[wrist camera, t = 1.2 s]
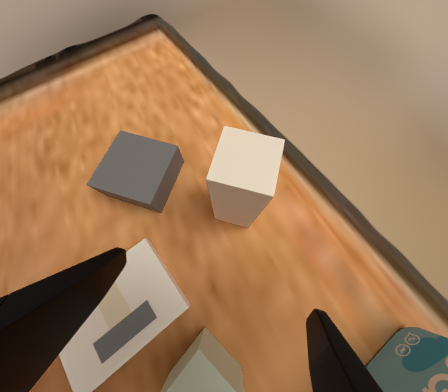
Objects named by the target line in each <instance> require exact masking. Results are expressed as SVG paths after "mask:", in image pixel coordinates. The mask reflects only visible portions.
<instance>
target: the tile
mask: <svg viewBox="0 0 448 392" xmlns="http://www.w3.org/2000/svg"><path fill="white" fill-rule="evenodd" d="M126 258H127V262H126V265H125V267H124V269H123V270H122V272H121V273H120V275H119V276H118V278H117V279H116V281H115V282H114V284H113V285H112V287H111V288H110V290H109V291H108V293H107V294H106V296H105V297H104V298H103V300H102V301H101V302H100V304H99V305H98V306H97V307H96V309H95V310H94V311H93V312H92V314H91V315H90V316H89V317H88V319H87V320H86V321H85V322H84V324H83V325H82V326H81V327H80V329H79V330H78V331H77V332H76V334H75V335H74V336H73V337H72V339H71V340H70V341H69V342H68V344H67V345H66V346H65V347H64V349H63V350H62V351H61V352H60V354H59V357H60V360H61V362H62V365H63V367H64V370H65V373H66V375H67V378H68V380H69V383H70V386H71V388H72V391H73V392H92V391H94V390H95V389H96V388H97V387H98V386H99V385H100V384H102V383H103V382H104V381H105V380H106V379H107V378H108V377H110V376H111V375H112V374H113V373H114V372H115V371H117V370H118V369H119V368H120V367H121V366H122V365H123V364H125V363H126V362H127V361H128V360H129V359H130V358H131V357H133V356H134V355H135V354H136V353H137V352H138V351H140V350H141V349H142V348H143V347H144V346H145V345H146V344H148V343H149V342H150V341H151V340H152V339H153V338H154V337H156V336H157V335H158V334H159V333H160V332H161V331H163V330H164V329H165V328H166V327H167V326H168V325H169V324H171V323H172V322H173V321H174V320H175V319H176V318H177V317H179V316H180V315H181V314H182V313H183V312H184V311H186V310H187V309H188V308H189V307H190V303H189V301H188V300H187V298H186V297H185V295H184V294H183V292H182V290H181V289H180V287H179V286H178V284H177V283H176V281H175V279H174V278H173V276H172V275H171V273H170V272H169V270H168V268H167V267H166V265H165V264H164V262H163V260H162V259H161V257H160V256H159V254H158V253H157V251H156V249H155V248H154V246H153V245H152V243H151V242H150V240H149V239H146V238H145V239H143V240H142V241H140V242H139V243H138V244H136V245H135V246H134V247H132V248H131V249H129V250H128V251H127V252H126Z"/></svg>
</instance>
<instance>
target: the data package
mask: <svg viewBox="0 0 448 392" xmlns="http://www.w3.org/2000/svg"><path fill="white" fill-rule="evenodd" d="M366 368H367V370H368V371H369V373H370V374H371V375H372V377H373V378H374V379H375V381H376V382H377V384H378V385H379V386H380V388H381V389H382V390H383V392H448V338H446V337H443V336H440V335H437V334H434V333H432V332H429V331H426V330H423V329H420V328H416V327H408V328H404V329H401V330H399V331H398V332H397V333H396V334H395V335H394V336H393V337H392V338H391V339H390V340H389V341H388V343H387V344H386V345H385V346H384V347H383V348H382V349H381V350H380V351H379V353H378V354H377V355H376V356H375V357H374V358H373V359H372V360H371V362H370V363H369V364H368V365H367V366H366Z"/></svg>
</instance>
